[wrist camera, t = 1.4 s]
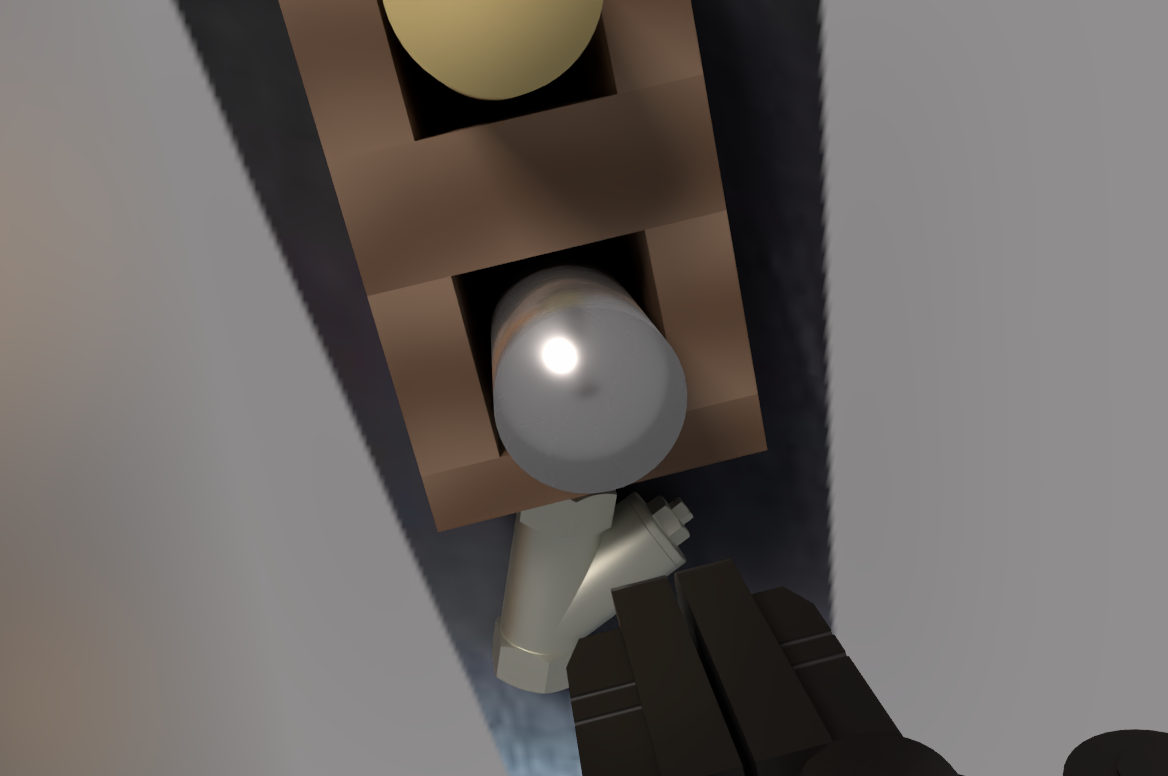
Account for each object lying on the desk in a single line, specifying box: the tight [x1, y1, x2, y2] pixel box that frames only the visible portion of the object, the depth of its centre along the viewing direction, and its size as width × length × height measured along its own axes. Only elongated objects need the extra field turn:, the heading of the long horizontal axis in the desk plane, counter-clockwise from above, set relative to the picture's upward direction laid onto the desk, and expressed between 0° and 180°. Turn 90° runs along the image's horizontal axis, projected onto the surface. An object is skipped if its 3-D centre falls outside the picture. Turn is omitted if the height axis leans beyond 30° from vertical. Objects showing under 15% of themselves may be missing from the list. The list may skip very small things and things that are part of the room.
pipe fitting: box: [492, 490, 693, 694], centre depth 35 cm, size 8×4×7 cm
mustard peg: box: [383, 0, 603, 101], centre depth 22 cm, size 4×4×8 cm
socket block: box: [279, 0, 767, 532], centre depth 28 cm, size 18×10×8 cm, turn 12°
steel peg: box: [490, 256, 687, 494], centre depth 24 cm, size 4×4×8 cm
